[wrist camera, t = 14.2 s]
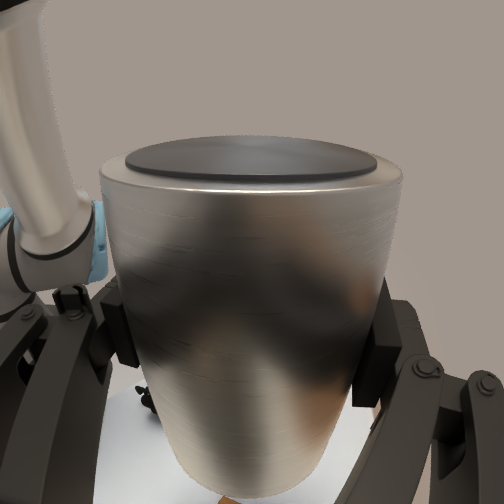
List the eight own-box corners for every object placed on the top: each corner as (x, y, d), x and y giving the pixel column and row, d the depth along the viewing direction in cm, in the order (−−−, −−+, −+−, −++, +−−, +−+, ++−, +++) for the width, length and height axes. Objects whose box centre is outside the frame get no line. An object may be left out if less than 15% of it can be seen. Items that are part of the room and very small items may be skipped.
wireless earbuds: (191, 419, 33) (185, 395, 31) (181, 434, 31) (174, 412, 29) (143, 399, 35) (134, 374, 33) (133, 412, 33) (122, 388, 31)
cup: (140, 450, 11) (42, 171, 6) (221, 359, 17) (211, 131, 12) (288, 523, 8) (402, 221, 3) (343, 401, 14) (404, 151, 9)
